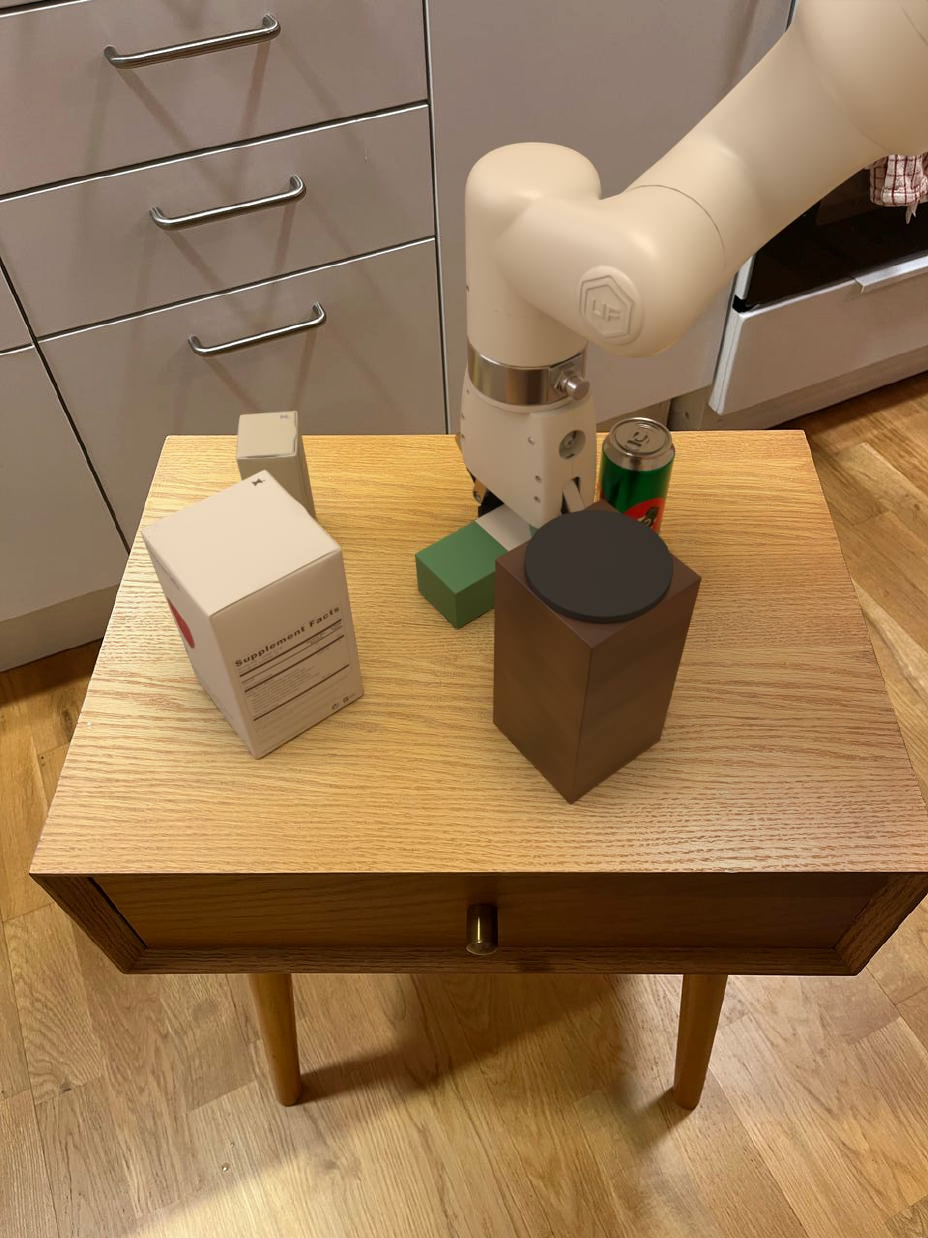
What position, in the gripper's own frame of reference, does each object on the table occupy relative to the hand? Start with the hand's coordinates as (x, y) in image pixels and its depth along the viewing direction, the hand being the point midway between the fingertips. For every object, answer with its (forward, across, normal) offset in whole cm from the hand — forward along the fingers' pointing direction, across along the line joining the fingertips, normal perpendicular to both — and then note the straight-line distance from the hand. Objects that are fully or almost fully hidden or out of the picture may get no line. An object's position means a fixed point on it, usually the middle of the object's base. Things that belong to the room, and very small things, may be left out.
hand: (519, 556), depth 74 cm
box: (+1, +13, +13) cm, 18 cm away
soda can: (+1, -4, -7) cm, 8 cm away
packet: (+1, 0, +2) cm, 3 cm away
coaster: (-15, -15, +7) cm, 22 cm away
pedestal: (+1, -14, +7) cm, 16 cm away
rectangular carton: (+1, +1, +21) cm, 21 cm away
